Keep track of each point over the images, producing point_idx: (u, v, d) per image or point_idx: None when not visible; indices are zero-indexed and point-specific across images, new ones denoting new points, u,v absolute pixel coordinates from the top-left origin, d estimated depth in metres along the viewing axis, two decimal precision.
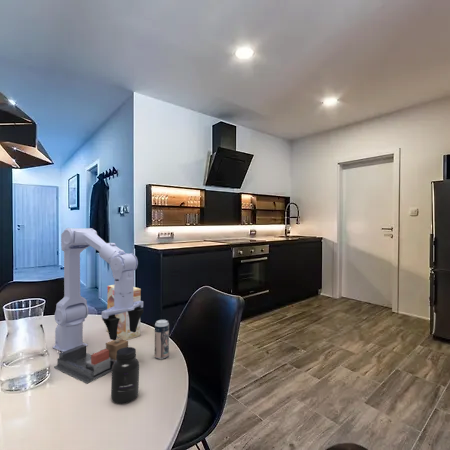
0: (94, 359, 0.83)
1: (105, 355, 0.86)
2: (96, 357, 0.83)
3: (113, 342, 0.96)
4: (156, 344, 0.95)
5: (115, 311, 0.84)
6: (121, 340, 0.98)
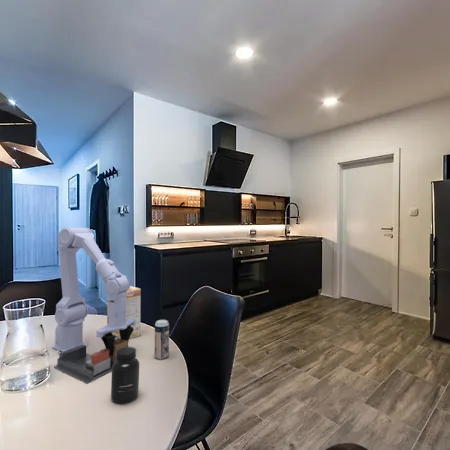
0: (94, 359, 0.83)
1: (105, 355, 0.86)
2: (96, 357, 0.83)
3: None
4: (156, 344, 0.95)
5: (109, 330, 0.92)
6: (121, 340, 0.98)
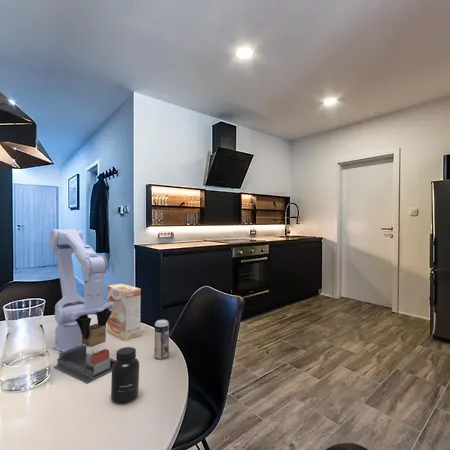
0: (94, 359, 0.83)
1: (105, 355, 0.86)
2: (96, 357, 0.83)
3: (90, 327, 0.91)
4: (156, 344, 0.95)
5: (84, 312, 0.87)
6: (99, 325, 0.93)
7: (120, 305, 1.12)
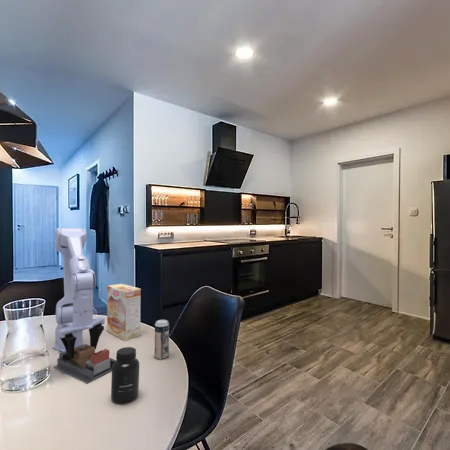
0: (94, 359, 0.83)
1: (105, 355, 0.86)
2: (96, 357, 0.83)
3: (79, 348, 0.89)
4: (156, 344, 0.95)
5: (72, 330, 0.85)
6: (88, 346, 0.91)
7: (120, 305, 1.12)
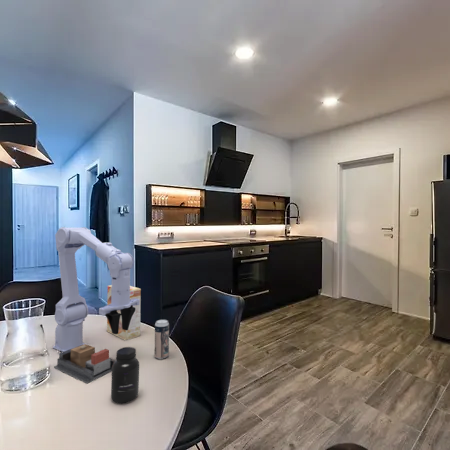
0: (94, 359, 0.83)
1: (105, 355, 0.86)
2: (96, 357, 0.83)
3: (79, 348, 0.89)
4: (156, 344, 0.95)
5: (112, 308, 0.88)
6: (88, 346, 0.91)
7: None
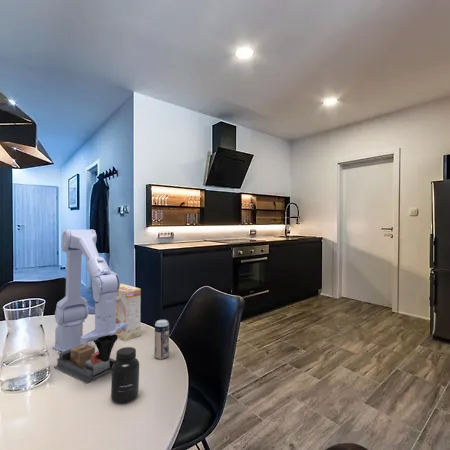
0: (94, 359, 0.83)
1: None
2: (95, 357, 0.83)
3: (79, 348, 0.89)
4: (156, 344, 0.95)
5: (95, 336, 0.79)
6: (88, 346, 0.91)
7: (120, 305, 1.12)
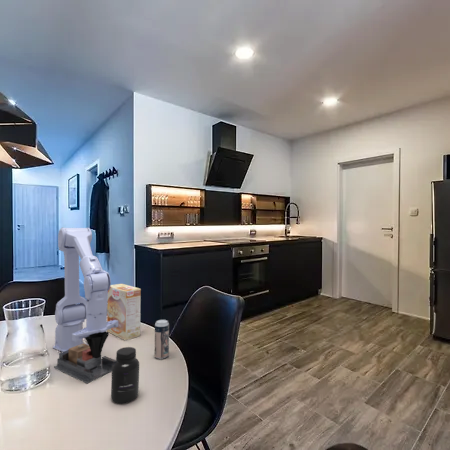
0: (85, 356, 0.85)
1: None
2: (87, 353, 0.85)
3: (76, 348, 0.90)
4: (156, 344, 0.95)
5: (86, 333, 0.82)
6: (86, 345, 0.91)
7: (120, 305, 1.12)
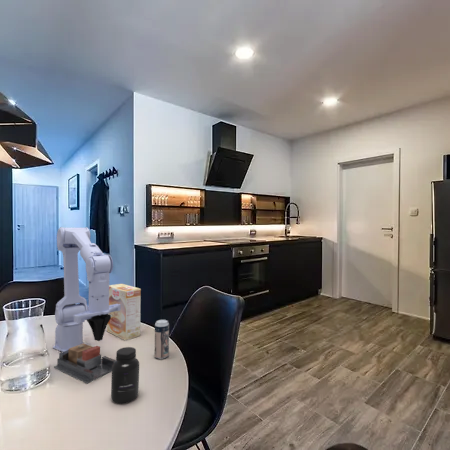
0: (85, 356, 0.85)
1: (96, 352, 0.88)
2: (87, 353, 0.85)
3: (76, 348, 0.90)
4: (156, 344, 0.95)
5: (88, 315, 0.81)
6: (86, 345, 0.92)
7: None
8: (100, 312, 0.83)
